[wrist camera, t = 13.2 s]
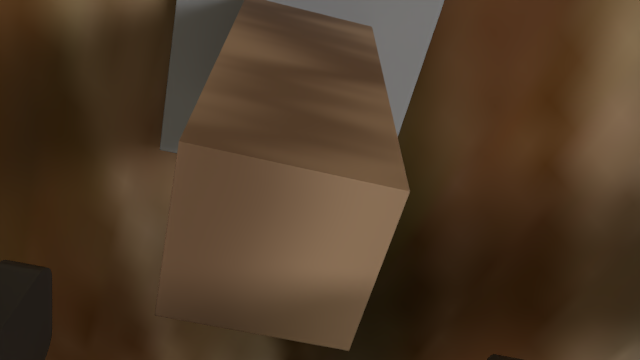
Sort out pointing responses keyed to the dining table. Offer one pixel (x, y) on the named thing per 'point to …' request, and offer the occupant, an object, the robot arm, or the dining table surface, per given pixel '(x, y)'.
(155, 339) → the dining table surface
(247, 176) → the walnut block
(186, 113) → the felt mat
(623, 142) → the dining table surface
